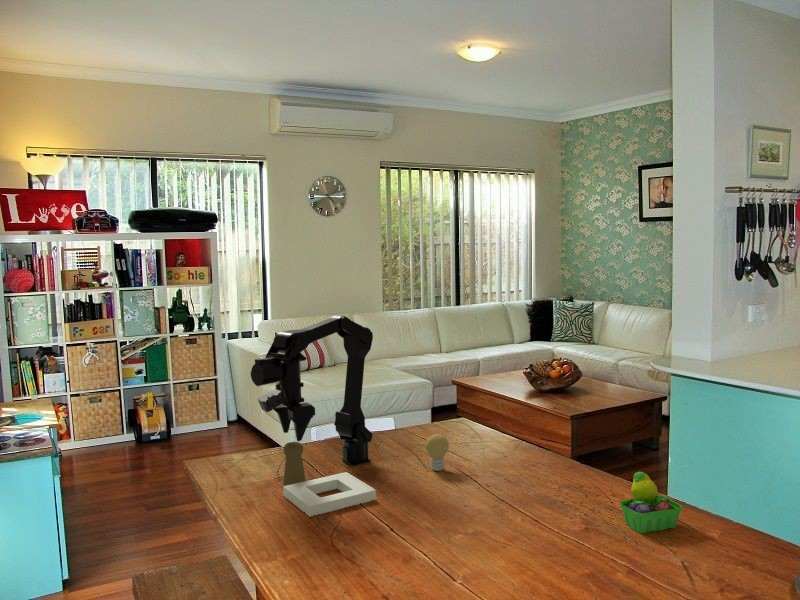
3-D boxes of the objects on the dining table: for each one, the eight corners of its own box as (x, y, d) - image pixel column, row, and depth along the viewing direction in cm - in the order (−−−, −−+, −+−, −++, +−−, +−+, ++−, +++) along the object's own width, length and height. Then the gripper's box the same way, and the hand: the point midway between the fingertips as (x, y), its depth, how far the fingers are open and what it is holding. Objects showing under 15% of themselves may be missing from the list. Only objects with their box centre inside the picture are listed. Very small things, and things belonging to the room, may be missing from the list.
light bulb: (449, 465, 192) (448, 431, 191) (448, 473, 185) (448, 438, 184) (426, 465, 192) (426, 431, 191) (425, 473, 186) (424, 438, 185)
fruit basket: (638, 537, 144) (638, 485, 143) (614, 520, 152) (614, 472, 151) (684, 529, 147) (684, 479, 146) (658, 514, 155) (658, 466, 154)
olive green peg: (278, 485, 180) (277, 444, 179) (292, 477, 185) (290, 438, 184) (297, 488, 177) (295, 447, 176) (310, 480, 183) (309, 441, 182)
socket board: (346, 481, 182) (346, 472, 181) (376, 499, 168) (375, 489, 168) (283, 495, 172) (283, 486, 172) (309, 516, 159) (309, 506, 158)
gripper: (248, 377, 183) (251, 433, 184) (273, 389, 167) (276, 451, 168) (287, 372, 188) (289, 426, 190) (315, 383, 173) (317, 443, 174)
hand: (292, 436), depth 180 cm, fingers open, 9 cm apart
